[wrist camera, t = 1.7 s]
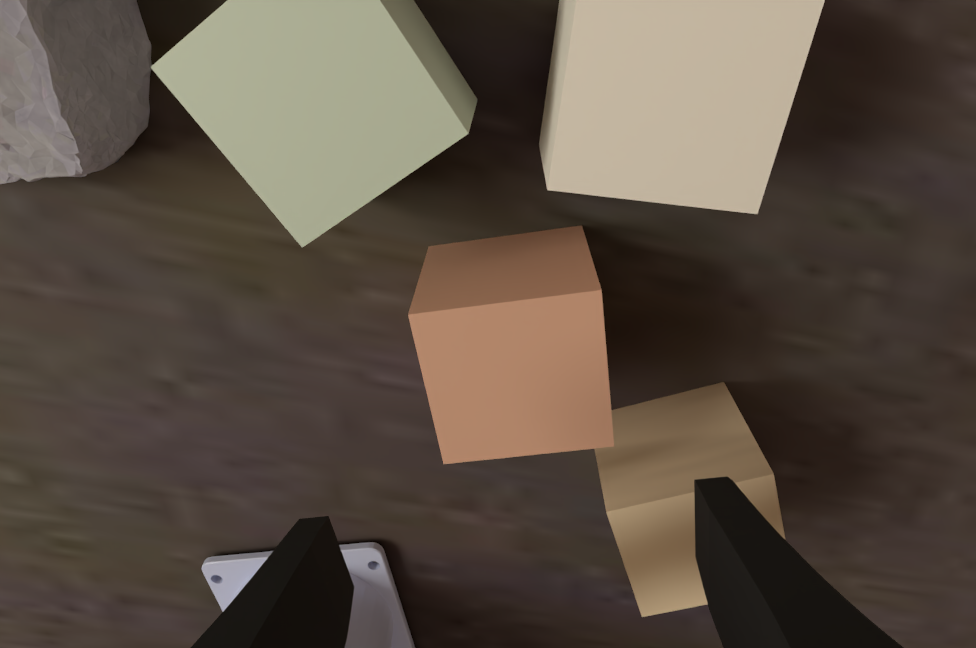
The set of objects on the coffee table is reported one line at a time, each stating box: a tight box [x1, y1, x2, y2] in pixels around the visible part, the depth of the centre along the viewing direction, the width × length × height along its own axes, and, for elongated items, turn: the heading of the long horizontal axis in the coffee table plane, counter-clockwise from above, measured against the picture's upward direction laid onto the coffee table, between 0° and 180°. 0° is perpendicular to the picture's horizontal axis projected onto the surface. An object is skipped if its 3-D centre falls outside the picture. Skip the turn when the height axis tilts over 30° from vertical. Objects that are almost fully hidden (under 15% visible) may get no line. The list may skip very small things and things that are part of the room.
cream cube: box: [539, 0, 825, 214], centre depth 16 cm, size 5×5×5 cm
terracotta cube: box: [408, 225, 614, 464], centre depth 20 cm, size 5×5×5 cm
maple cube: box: [595, 382, 785, 617], centre depth 22 cm, size 5×5×5 cm
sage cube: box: [151, 0, 478, 247], centre depth 16 cm, size 5×5×5 cm
